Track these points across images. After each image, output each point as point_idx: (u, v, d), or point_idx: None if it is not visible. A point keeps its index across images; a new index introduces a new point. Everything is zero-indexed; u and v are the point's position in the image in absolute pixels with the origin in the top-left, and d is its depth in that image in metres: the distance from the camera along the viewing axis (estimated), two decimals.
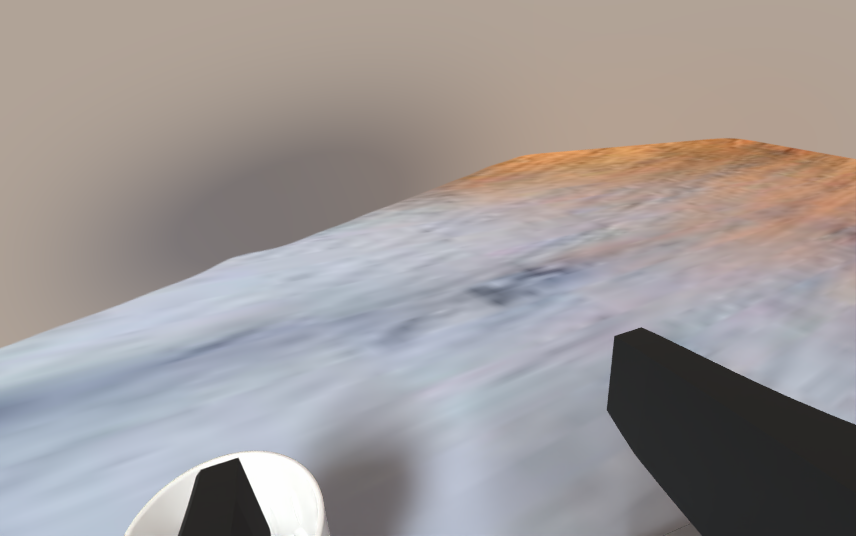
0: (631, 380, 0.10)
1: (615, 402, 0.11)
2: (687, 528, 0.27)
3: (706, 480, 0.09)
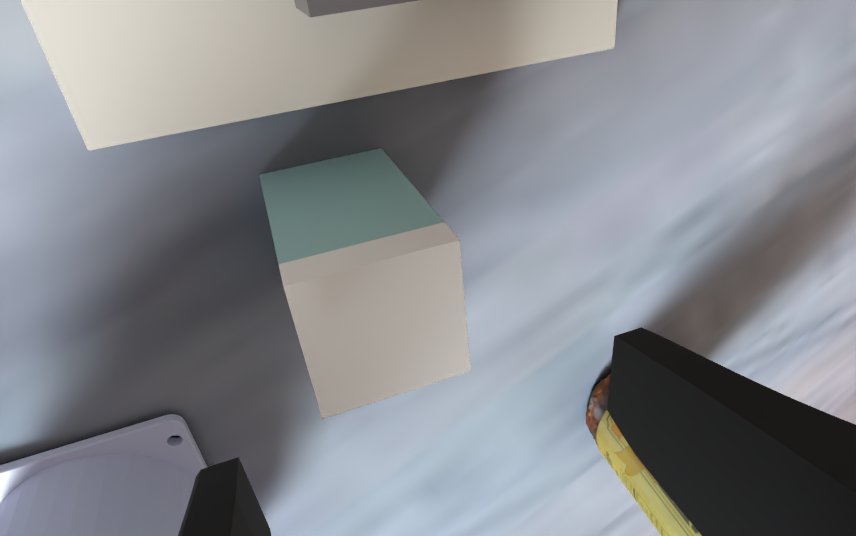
0: (631, 380, 0.10)
1: (615, 402, 0.11)
2: None
3: (706, 480, 0.09)
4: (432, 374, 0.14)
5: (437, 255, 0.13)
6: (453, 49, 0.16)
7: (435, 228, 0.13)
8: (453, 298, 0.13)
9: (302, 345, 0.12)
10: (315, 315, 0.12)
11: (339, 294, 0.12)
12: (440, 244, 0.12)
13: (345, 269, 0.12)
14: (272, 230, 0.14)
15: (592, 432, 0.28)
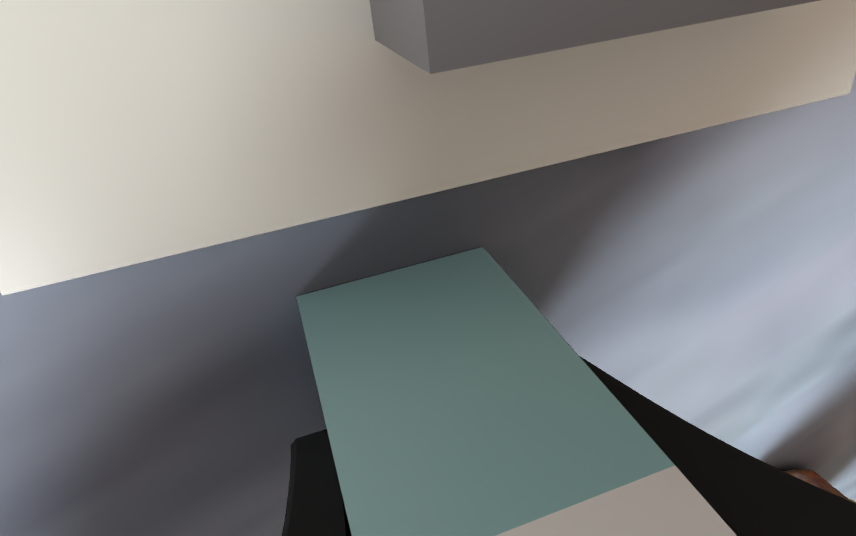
0: None
1: None
2: None
3: None
4: None
5: None
6: (621, 103, 0.10)
7: (665, 486, 0.07)
8: None
9: None
10: None
11: None
12: None
13: None
14: (336, 458, 0.07)
15: None
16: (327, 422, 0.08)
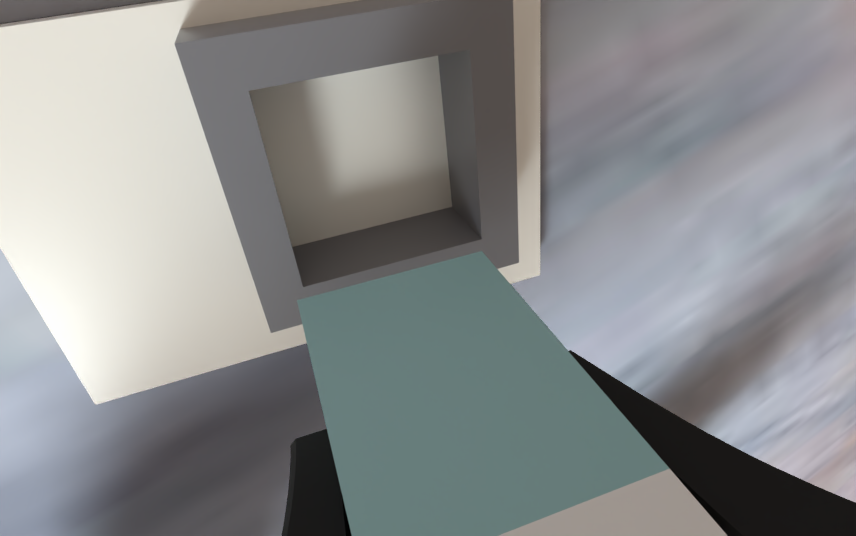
0: None
1: None
2: (314, 28, 0.12)
3: None
4: None
5: None
6: None
7: (659, 489, 0.07)
8: None
9: None
10: None
11: None
12: None
13: None
14: (336, 461, 0.08)
15: None
16: (328, 425, 0.08)
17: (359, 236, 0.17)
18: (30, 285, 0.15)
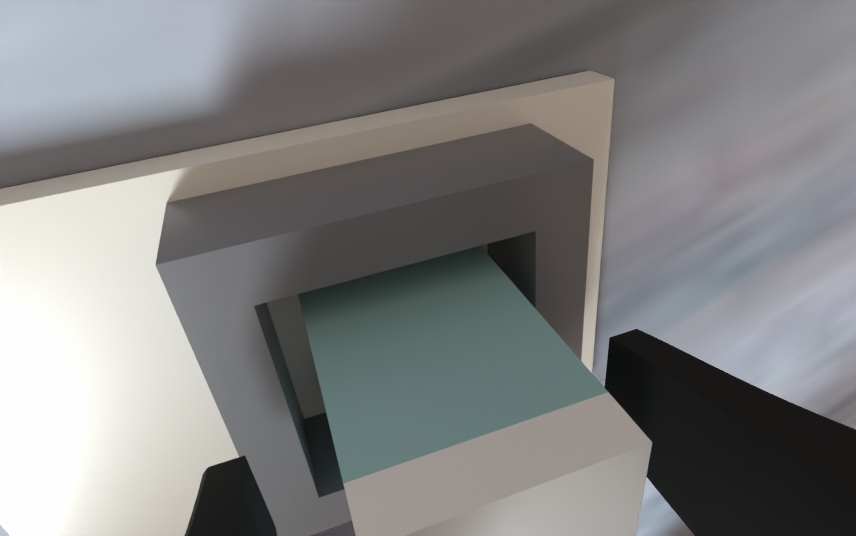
0: (626, 382, 0.10)
1: None
2: (340, 229, 0.09)
3: (701, 482, 0.09)
4: None
5: (613, 468, 0.07)
6: None
7: (598, 407, 0.08)
8: (623, 518, 0.08)
9: None
10: None
11: None
12: (621, 452, 0.07)
13: (465, 509, 0.07)
14: (323, 391, 0.09)
15: None
16: (316, 364, 0.09)
17: None
18: None
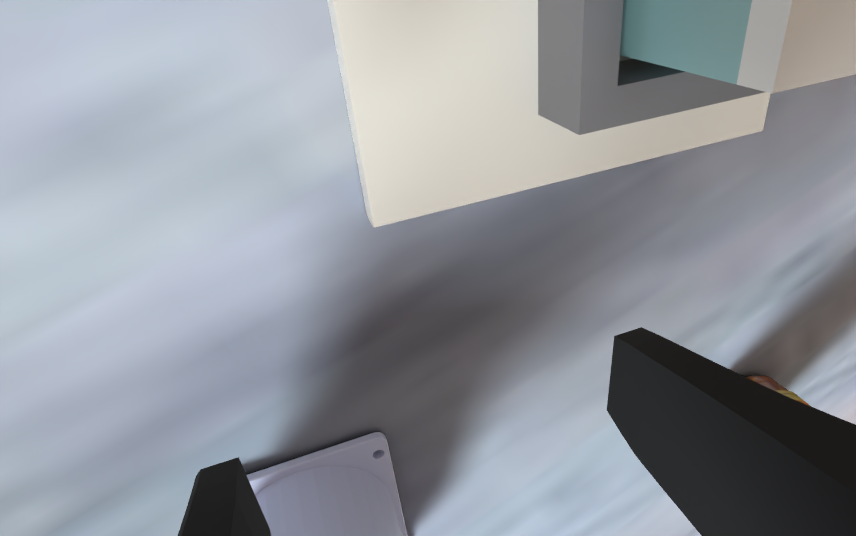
0: (631, 380, 0.10)
1: (615, 402, 0.11)
2: None
3: (706, 480, 0.09)
4: None
5: None
6: (643, 138, 0.20)
7: None
8: None
9: None
10: None
11: None
12: None
13: None
14: None
15: None
16: None
17: (634, 61, 0.18)
18: (353, 85, 0.16)
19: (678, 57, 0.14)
